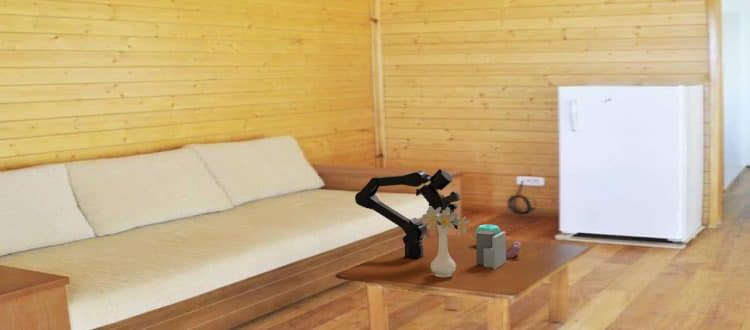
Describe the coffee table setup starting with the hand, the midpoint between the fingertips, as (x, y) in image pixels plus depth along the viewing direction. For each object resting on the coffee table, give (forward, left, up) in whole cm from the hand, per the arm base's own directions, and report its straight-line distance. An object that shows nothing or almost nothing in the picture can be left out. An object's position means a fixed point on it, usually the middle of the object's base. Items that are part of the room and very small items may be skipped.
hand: (458, 228), depth 334 cm
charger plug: (+11, -2, -13) cm, 17 cm away
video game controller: (+18, +16, -13) cm, 27 cm away
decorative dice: (+2, +33, -13) cm, 36 cm away
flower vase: (+3, -24, -13) cm, 27 cm away
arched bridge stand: (+15, -2, -13) cm, 20 cm away
